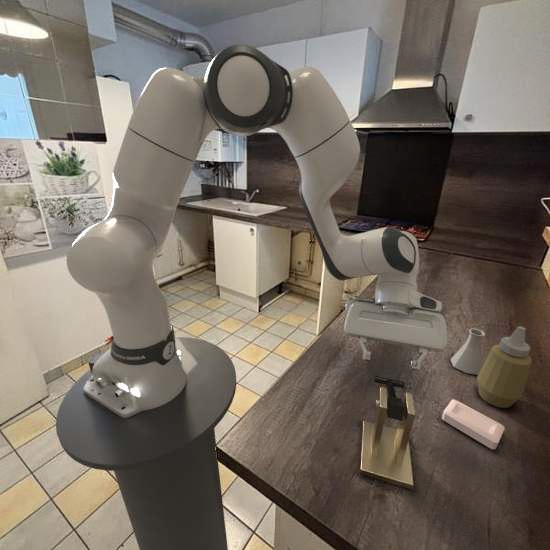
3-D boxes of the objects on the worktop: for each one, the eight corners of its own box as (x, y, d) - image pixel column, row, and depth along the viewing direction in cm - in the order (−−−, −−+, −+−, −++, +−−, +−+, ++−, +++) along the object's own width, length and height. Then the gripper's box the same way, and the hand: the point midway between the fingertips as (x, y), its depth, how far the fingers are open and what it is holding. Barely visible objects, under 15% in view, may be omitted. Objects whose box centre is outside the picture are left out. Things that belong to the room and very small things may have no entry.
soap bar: (450, 405, 61) (453, 397, 60) (502, 434, 55) (506, 425, 54) (440, 420, 58) (443, 411, 57) (494, 452, 52) (498, 442, 51)
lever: (373, 383, 59) (375, 372, 59) (402, 389, 58) (404, 378, 57) (376, 415, 47) (378, 400, 47) (413, 424, 45) (415, 409, 45)
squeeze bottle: (493, 381, 68) (518, 315, 61) (527, 409, 61) (560, 337, 53) (463, 387, 66) (486, 319, 59) (495, 416, 59) (525, 342, 52)
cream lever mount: (362, 424, 57) (371, 373, 52) (406, 436, 55) (420, 383, 50) (360, 474, 48) (370, 418, 43) (412, 490, 46) (429, 433, 41)
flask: (484, 379, 68) (496, 344, 64) (449, 368, 72) (459, 334, 68) (483, 362, 74) (494, 329, 70) (450, 352, 78) (460, 320, 74)
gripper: (347, 290, 64) (338, 353, 60) (450, 304, 58) (450, 374, 54) (347, 299, 70) (338, 357, 65) (441, 312, 64) (440, 377, 59)
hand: (390, 365), depth 59 cm, fingers open, 8 cm apart
